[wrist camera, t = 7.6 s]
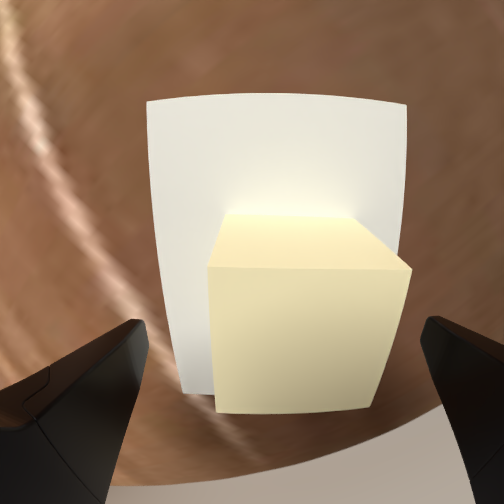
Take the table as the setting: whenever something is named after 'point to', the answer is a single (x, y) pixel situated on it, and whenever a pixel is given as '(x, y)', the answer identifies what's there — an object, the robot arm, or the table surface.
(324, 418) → the table surface
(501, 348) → the robot arm
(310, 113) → the notebook
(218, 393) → the sticky note cube
